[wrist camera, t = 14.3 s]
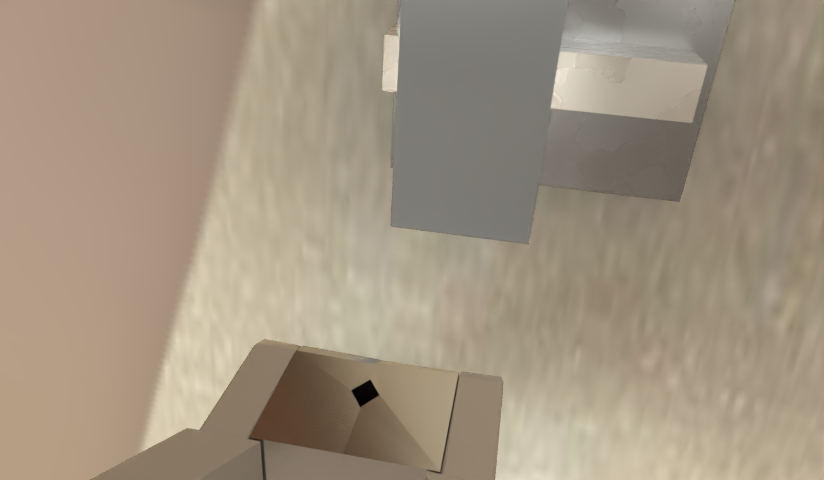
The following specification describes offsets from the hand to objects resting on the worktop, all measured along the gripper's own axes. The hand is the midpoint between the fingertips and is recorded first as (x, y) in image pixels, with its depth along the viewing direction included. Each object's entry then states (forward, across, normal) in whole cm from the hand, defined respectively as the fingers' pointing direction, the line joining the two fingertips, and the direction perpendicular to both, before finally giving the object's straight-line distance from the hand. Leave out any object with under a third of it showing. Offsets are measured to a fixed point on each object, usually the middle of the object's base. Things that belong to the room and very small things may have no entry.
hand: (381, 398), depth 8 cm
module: (+20, 0, 0) cm, 20 cm away
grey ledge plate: (+21, -2, 0) cm, 21 cm away
